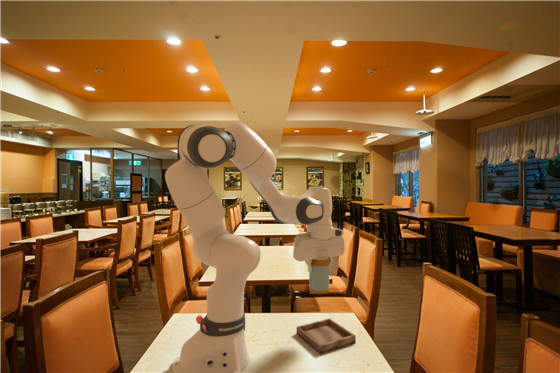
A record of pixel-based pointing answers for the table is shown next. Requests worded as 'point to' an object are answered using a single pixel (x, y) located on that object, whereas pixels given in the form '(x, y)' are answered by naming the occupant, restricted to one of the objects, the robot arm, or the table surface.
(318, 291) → the bottle
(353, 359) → the table surface
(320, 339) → the serving tray
